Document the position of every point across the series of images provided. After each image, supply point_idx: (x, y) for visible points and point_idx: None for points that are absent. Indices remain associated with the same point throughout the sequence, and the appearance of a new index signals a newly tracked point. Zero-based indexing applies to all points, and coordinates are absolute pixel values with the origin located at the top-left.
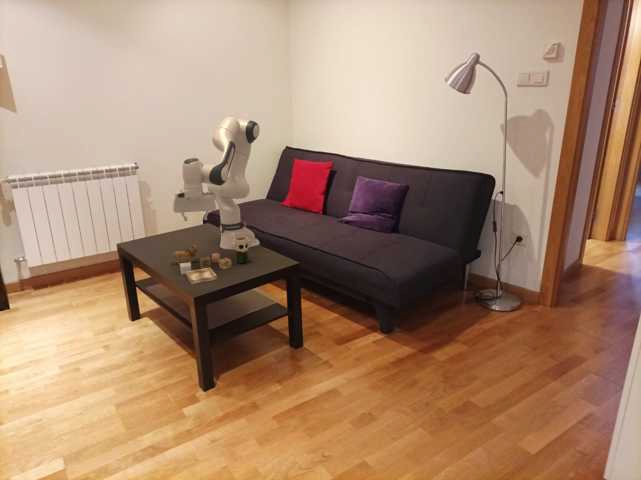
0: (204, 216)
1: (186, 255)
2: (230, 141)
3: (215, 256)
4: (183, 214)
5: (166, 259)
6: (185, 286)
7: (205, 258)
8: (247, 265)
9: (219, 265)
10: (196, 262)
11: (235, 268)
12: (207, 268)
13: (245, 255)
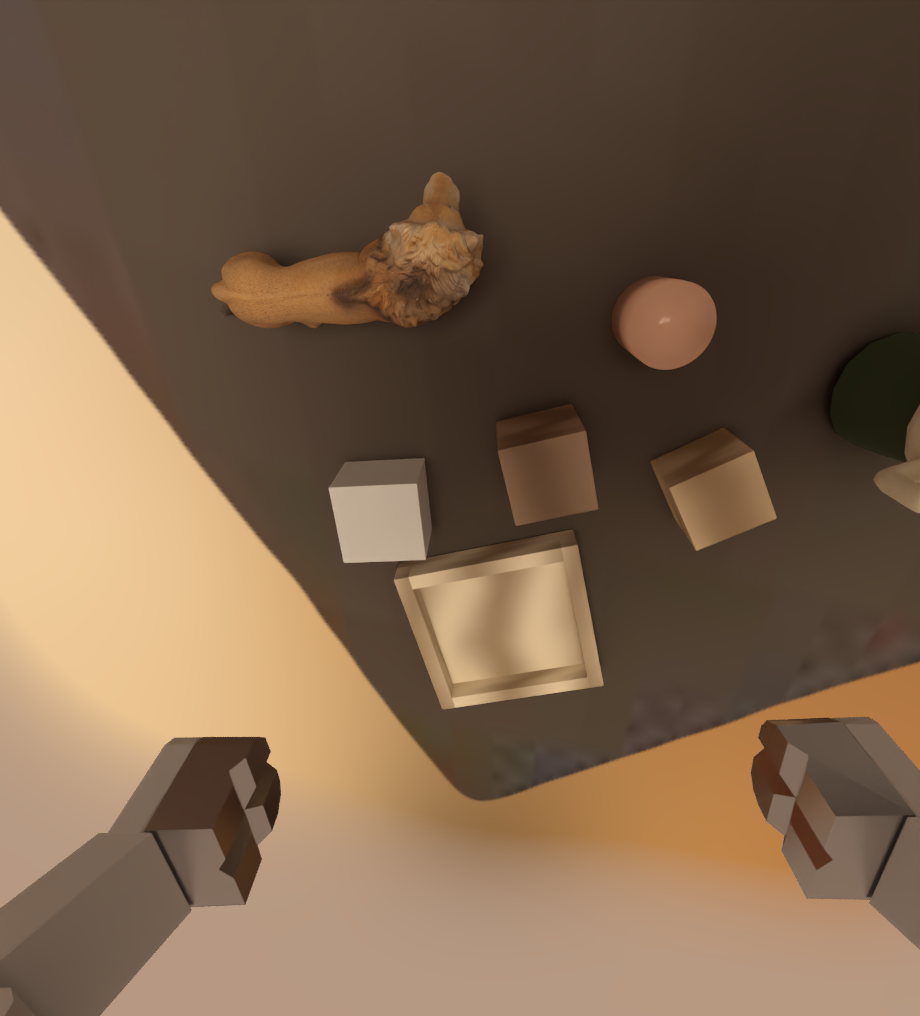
0: (833, 896)
1: (360, 322)
2: None
3: (659, 367)
4: (37, 973)
5: (132, 100)
6: (411, 703)
7: (554, 481)
8: None
9: (656, 473)
10: None
11: None
12: (553, 559)
13: None
